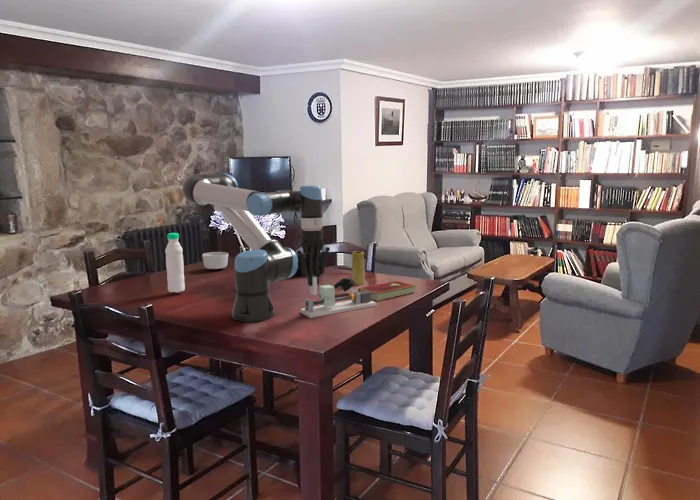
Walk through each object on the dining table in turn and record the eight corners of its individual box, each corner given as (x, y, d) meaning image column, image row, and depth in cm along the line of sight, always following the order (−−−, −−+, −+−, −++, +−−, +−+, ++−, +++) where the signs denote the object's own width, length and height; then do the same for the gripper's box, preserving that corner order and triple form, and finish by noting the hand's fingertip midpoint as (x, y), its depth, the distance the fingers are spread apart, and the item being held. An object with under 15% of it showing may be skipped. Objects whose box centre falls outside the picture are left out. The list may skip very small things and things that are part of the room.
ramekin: (222, 263, 294) (221, 250, 293) (233, 267, 284) (232, 254, 283) (198, 266, 286) (198, 253, 285) (209, 270, 276) (208, 257, 275)
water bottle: (182, 292, 232) (178, 234, 227) (165, 292, 232) (161, 234, 227) (187, 288, 239) (183, 232, 234) (170, 288, 239) (167, 232, 234)
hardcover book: (358, 297, 224) (358, 287, 223) (396, 289, 236) (396, 279, 236) (376, 303, 214) (376, 292, 214) (415, 294, 227) (416, 284, 226)
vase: (351, 282, 248) (350, 251, 246) (364, 281, 249) (364, 250, 246) (352, 285, 242) (351, 253, 240) (365, 284, 243) (365, 253, 240)
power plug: (327, 289, 231) (349, 273, 228) (338, 303, 231) (360, 287, 228) (324, 292, 226) (346, 276, 223) (335, 307, 226) (358, 290, 223)
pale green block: (325, 307, 199) (325, 288, 197) (319, 304, 202) (319, 286, 201) (334, 305, 201) (334, 287, 199) (329, 302, 204) (328, 284, 203)
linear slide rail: (310, 318, 194) (310, 303, 193) (300, 312, 201) (300, 298, 200) (376, 306, 208) (376, 292, 207) (365, 301, 215) (365, 288, 214)
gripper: (299, 231, 187) (301, 298, 191) (333, 228, 194) (334, 293, 197) (290, 229, 194) (293, 294, 198) (323, 226, 200) (325, 289, 204)
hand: (313, 294), depth 198 cm, fingers closed
